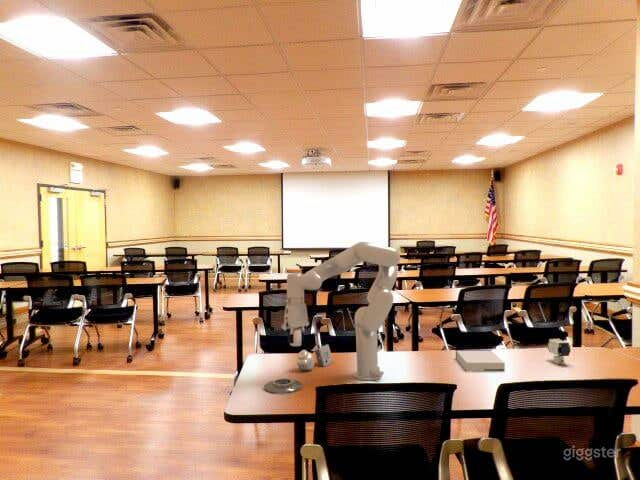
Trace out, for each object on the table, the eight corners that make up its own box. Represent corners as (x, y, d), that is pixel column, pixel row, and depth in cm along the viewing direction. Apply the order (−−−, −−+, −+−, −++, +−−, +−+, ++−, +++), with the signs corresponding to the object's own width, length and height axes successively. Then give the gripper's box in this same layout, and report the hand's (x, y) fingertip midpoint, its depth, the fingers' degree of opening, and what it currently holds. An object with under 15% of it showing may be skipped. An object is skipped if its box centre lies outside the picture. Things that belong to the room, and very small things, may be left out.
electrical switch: (324, 367, 231) (322, 348, 232) (315, 367, 234) (313, 348, 234) (333, 362, 240) (331, 344, 240) (324, 362, 242) (322, 344, 242)
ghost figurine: (293, 369, 229) (292, 348, 229) (311, 366, 233) (310, 346, 233) (300, 374, 221) (299, 353, 221) (318, 371, 225) (317, 350, 225)
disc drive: (491, 359, 240) (491, 349, 240) (505, 372, 217) (505, 362, 217) (455, 359, 241) (455, 349, 241) (466, 372, 219) (465, 362, 219)
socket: (309, 387, 202) (309, 381, 202) (279, 396, 192) (279, 390, 192) (286, 379, 214) (286, 373, 214) (256, 387, 203) (256, 381, 203)
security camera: (556, 359, 235) (555, 335, 234) (571, 366, 223) (570, 341, 223) (545, 360, 234) (545, 336, 234) (560, 367, 222) (559, 341, 222)
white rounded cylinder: (303, 345, 210) (303, 328, 210) (294, 346, 206) (294, 329, 206) (296, 343, 213) (296, 326, 213) (287, 344, 210) (287, 327, 210)
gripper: (285, 303, 201) (285, 346, 201) (315, 300, 212) (315, 340, 213) (274, 302, 207) (275, 343, 207) (305, 298, 218) (305, 337, 218)
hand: (295, 341), depth 210 cm, fingers closed on white rounded cylinder, 5 cm apart
